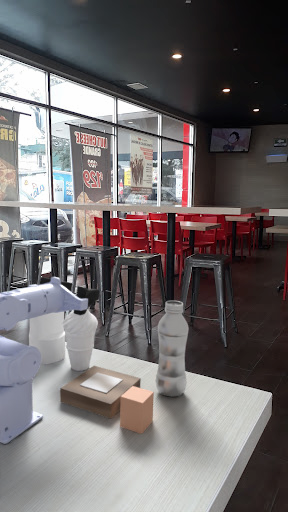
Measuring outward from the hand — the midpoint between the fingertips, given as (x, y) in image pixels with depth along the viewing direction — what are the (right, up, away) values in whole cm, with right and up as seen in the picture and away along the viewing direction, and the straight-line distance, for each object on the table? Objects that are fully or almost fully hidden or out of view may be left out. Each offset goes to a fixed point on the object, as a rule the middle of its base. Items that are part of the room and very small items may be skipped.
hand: (84, 290), depth 86 cm
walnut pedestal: (+4, -22, -3) cm, 22 cm away
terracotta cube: (+12, -24, -12) cm, 29 cm away
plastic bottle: (+19, -22, -1) cm, 29 cm away
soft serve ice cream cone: (-2, -20, +10) cm, 22 cm away
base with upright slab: (-12, -18, +16) cm, 27 cm away
